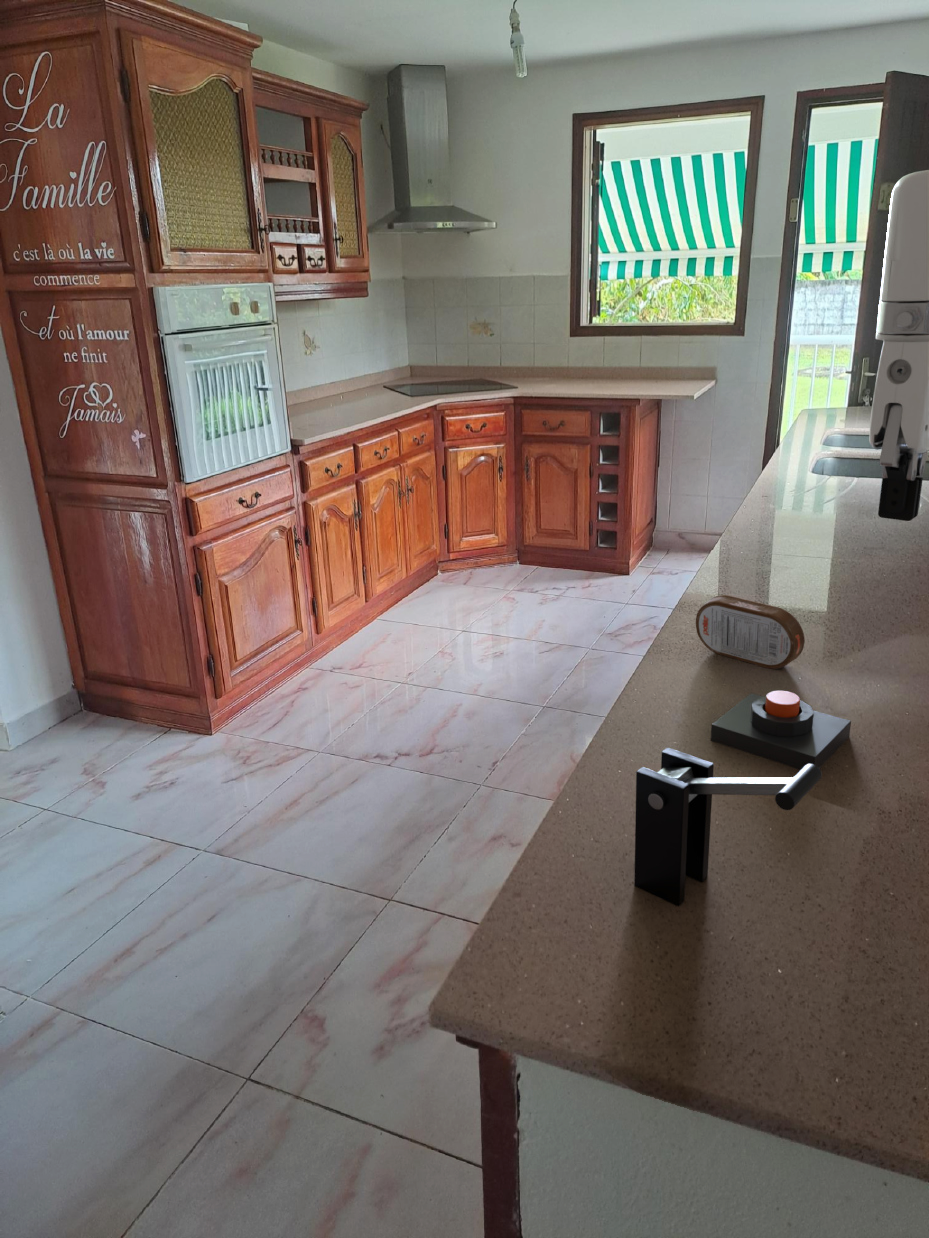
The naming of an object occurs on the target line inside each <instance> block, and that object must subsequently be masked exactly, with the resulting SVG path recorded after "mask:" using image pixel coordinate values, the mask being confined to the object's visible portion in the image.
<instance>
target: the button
mask: <svg viewBox="0 0 929 1238" xmlns="http://www.w3.org/2000/svg"><path fill="white" fill-rule="evenodd" d="M765 697H766V706H765V710H766V712H767V713H768V714H770V715H774V716H777V717H786V718H790V717H794V716H797V715H798V714H799V707H800V700H801V698H800V697H799V695H797V694H796V693H794V692H792V691H788V690H772V691H770V692H768V693H767V694H766V696H765Z"/></svg>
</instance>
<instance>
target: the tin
mask: <svg viewBox="0 0 929 1238" xmlns="http://www.w3.org/2000/svg"><path fill="white" fill-rule="evenodd" d="M695 630H696V634H697V636H698V638H699V640H700V641H701V643H702V644H703V646H705V648H707V649H708V650H710V651H711V652H713V653H714V654H717V655H719V656H723V657H725V658H730V659H733V660H737V661H741V662H745V663H747V664H748V663H749V664H751V665H755V666H759V667H762V668H765V669H771V670H777V669H781V668H784V667H786V666H787V665H789V664H790V663H792V662H793V661H794V660H795V661H796V660H797V659H798V658H799V657H800V656H801V655H802V652H803V650H804V648H805V642H806V641H805V633H804V630H803V628H802V626H801V623H800V622H799V620H798V619H797V618H796V617H795V616H794V615H793V614H792V613H791V612H789V611H788V610H785V609H784V608H781V607H779V606H776V605H775V606H774V605H770V604H766V603H761V602H758V601H753V600H751V599H750V600H749V599H746V598H741V597H737V596H733V595H728V594H720V595H716V596H714V597H711V598H709V600H708V601H706V602H705V603H704V604H702V606H700V608H699V609H698V611H697V613H696V616H695Z"/></svg>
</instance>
